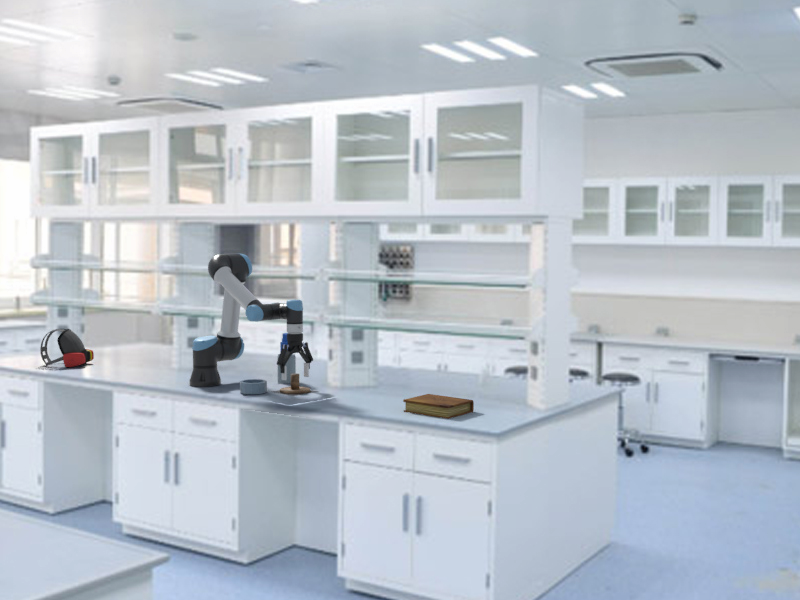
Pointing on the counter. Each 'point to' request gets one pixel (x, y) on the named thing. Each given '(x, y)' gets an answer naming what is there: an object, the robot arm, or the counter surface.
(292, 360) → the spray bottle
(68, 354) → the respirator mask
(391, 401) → the counter surface
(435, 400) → the diary
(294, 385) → the lid
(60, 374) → the counter surface
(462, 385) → the counter surface
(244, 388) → the bowl
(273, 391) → the mat
